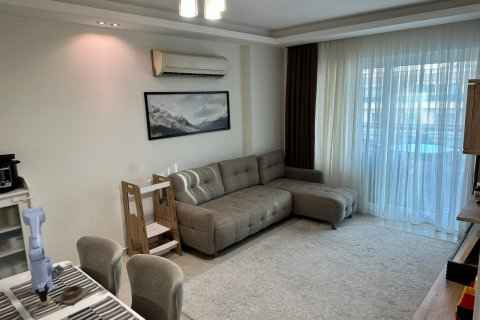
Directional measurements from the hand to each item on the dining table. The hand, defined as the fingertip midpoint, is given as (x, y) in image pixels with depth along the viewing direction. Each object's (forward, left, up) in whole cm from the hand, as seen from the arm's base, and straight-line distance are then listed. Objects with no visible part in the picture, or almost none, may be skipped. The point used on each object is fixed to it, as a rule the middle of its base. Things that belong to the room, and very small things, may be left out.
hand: (44, 297), depth 155 cm
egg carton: (-19, +22, -5) cm, 29 cm away
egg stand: (+8, +9, -4) cm, 13 cm away
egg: (0, 0, -2) cm, 2 cm away
